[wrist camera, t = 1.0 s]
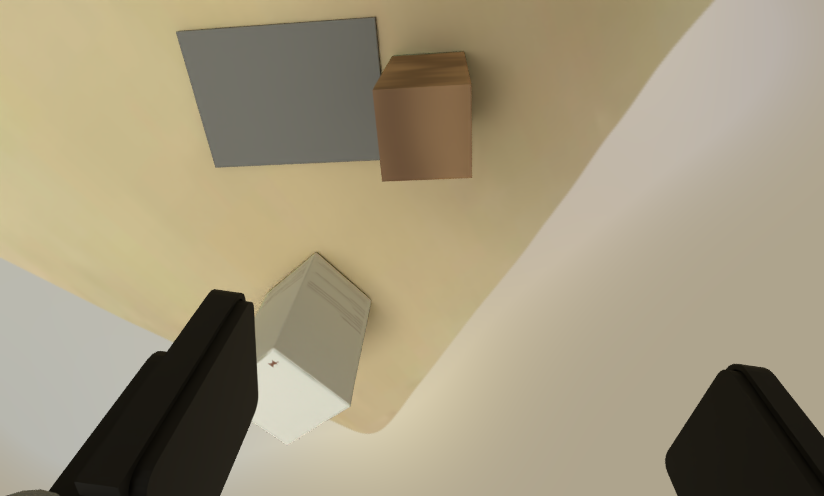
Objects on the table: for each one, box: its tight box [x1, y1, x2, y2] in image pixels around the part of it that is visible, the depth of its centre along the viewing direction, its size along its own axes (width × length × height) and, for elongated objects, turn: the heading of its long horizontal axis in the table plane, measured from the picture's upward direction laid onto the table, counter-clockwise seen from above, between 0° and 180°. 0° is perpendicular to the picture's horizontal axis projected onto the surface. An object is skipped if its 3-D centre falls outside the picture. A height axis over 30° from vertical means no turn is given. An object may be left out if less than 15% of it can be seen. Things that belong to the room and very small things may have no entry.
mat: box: [176, 17, 381, 168], centre depth 36 cm, size 14×10×1 cm
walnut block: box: [372, 51, 472, 181], centre depth 30 cm, size 5×5×11 cm
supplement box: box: [251, 253, 371, 445], centre depth 40 cm, size 7×7×13 cm
